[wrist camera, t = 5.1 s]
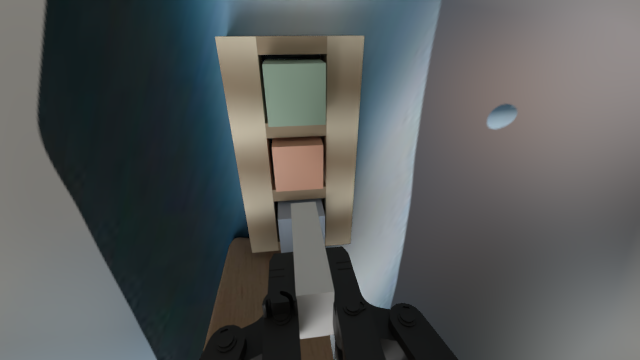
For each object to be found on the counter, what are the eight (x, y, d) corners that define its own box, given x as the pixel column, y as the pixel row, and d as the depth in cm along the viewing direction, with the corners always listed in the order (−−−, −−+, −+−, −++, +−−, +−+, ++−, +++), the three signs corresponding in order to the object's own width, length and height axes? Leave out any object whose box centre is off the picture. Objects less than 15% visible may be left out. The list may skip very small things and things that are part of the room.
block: (231, 232, 30) (161, 508, 13) (317, 240, 32) (358, 484, 15) (226, 292, 34) (169, 556, 17) (301, 295, 37) (320, 532, 19)
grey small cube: (319, 223, 28) (324, 250, 25) (281, 227, 28) (281, 254, 24) (319, 191, 26) (325, 216, 23) (278, 194, 26) (277, 219, 22)
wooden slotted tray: (342, 220, 31) (350, 243, 28) (255, 227, 30) (252, 252, 26) (351, 35, 22) (364, 35, 18) (226, 36, 21) (215, 36, 17)
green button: (318, 110, 22) (325, 124, 19) (270, 112, 22) (268, 127, 18) (318, 58, 20) (325, 63, 17) (265, 59, 20) (262, 64, 16)
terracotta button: (317, 168, 26) (323, 188, 23) (276, 170, 26) (276, 191, 22) (317, 128, 24) (323, 144, 21) (273, 130, 24) (271, 147, 20)
